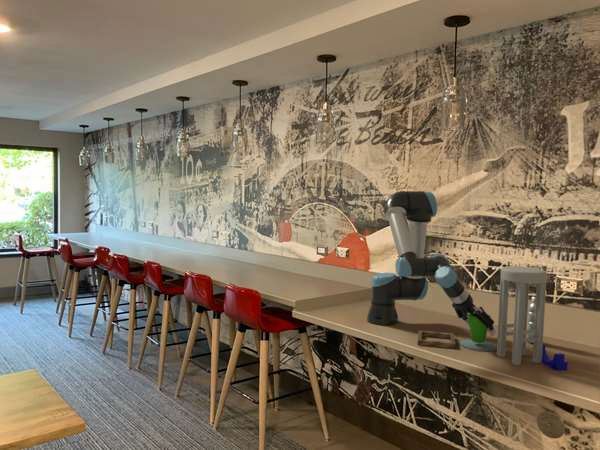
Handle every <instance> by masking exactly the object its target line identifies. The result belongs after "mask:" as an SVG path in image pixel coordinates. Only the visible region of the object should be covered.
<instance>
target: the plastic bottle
mask: <svg viewBox="0 0 600 450" xmlns="http://www.w3.org/2000/svg"><path fill="white" fill-rule="evenodd" d="M535 307H536V295H532V296H531V302H530V303H529V304H528V313H527V330H534V325H535ZM526 338H534V334H526ZM530 343H531V344H533V343H534V342H530Z"/></svg>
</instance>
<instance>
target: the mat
mask: <svg viewBox="0 0 600 450" xmlns="http://www.w3.org/2000/svg"><path fill="white" fill-rule="evenodd" d="M460 346H462V347H463V348H465V349H469V350H471V351H476V352H477V351H478V352H492V351H496V350H497V344H494V343H492V342H489V341H487V340H485V342H484V343H476V342H473V341H472V339H471V338H470V339H464V340H461V341H460Z"/></svg>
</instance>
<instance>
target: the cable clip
mask: <svg viewBox="0 0 600 450" xmlns="http://www.w3.org/2000/svg"><path fill="white" fill-rule="evenodd" d="M565 356H566V354H564V353H563V352H562V353H554V356H553V359H551V358H550V357H549V356H548V353H547V350H546V344H543V348H542V363H541V364H543V365H545V366H547V367H548V368H551V369H552V370H555V371H556V372H559V371H561V372H562V371H568V368H569V365H568V364H569V362H567V361H565V358H566V357H565Z"/></svg>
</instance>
